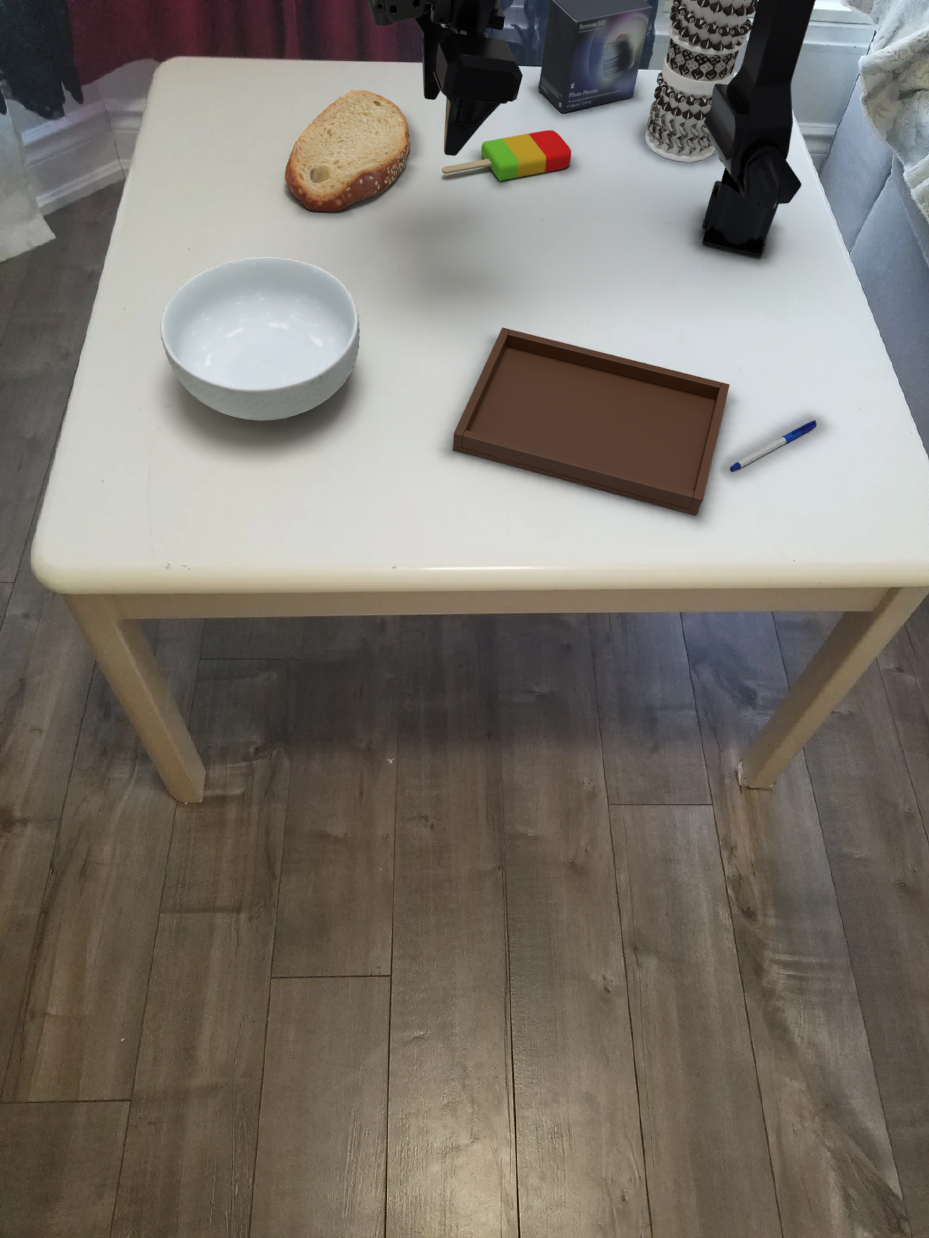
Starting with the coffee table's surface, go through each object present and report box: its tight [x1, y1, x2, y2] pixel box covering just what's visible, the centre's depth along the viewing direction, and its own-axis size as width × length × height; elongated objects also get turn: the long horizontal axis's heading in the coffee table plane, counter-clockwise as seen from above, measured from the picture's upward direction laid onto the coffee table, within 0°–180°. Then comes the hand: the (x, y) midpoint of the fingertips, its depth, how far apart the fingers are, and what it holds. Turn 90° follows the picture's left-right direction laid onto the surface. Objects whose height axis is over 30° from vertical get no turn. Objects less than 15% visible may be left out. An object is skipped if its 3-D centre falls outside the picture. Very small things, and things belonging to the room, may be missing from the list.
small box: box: [537, 0, 653, 113], centre depth 109 cm, size 11×6×10 cm, turn 118°
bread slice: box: [284, 89, 411, 212], centre depth 102 cm, size 18×18×4 cm
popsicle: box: [441, 129, 572, 182], centre depth 103 cm, size 6×15×2 cm, turn 112°
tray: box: [452, 327, 730, 516], centre depth 81 cm, size 22×15×2 cm
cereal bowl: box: [160, 256, 361, 422], centre depth 80 cm, size 17×17×7 cm
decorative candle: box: [644, 0, 758, 163], centre depth 98 cm, size 9×9×25 cm
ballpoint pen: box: [729, 419, 817, 472], centre depth 81 cm, size 10×1×1 cm, turn 126°
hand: (439, 126), depth 82 cm, fingers open, 9 cm apart
